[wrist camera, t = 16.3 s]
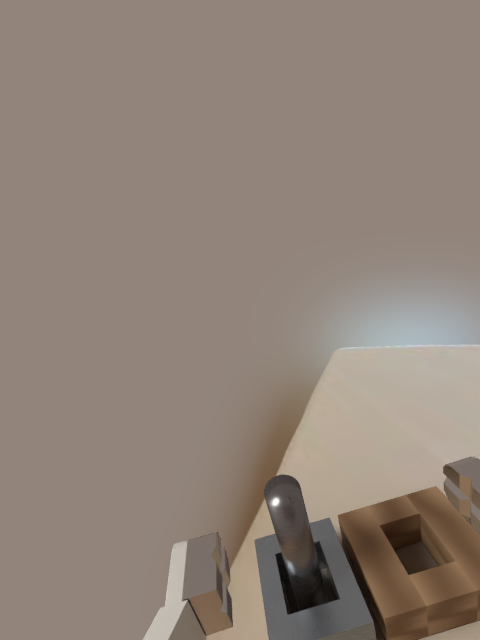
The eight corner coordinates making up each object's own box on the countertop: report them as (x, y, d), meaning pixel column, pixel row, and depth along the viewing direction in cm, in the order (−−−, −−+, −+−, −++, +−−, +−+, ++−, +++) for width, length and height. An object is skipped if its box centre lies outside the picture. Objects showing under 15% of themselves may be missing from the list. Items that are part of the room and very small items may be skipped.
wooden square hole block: (437, 513, 33) (436, 486, 32) (515, 609, 25) (518, 577, 23) (342, 541, 33) (337, 515, 32) (389, 648, 24) (384, 618, 23)
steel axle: (321, 579, 30) (294, 470, 25) (334, 618, 27) (306, 502, 22) (293, 588, 30) (261, 480, 25) (303, 627, 27) (268, 513, 22)
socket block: (334, 543, 33) (329, 517, 32) (378, 651, 24) (373, 622, 23) (263, 565, 33) (254, 539, 31) (281, 681, 24) (270, 653, 23)
